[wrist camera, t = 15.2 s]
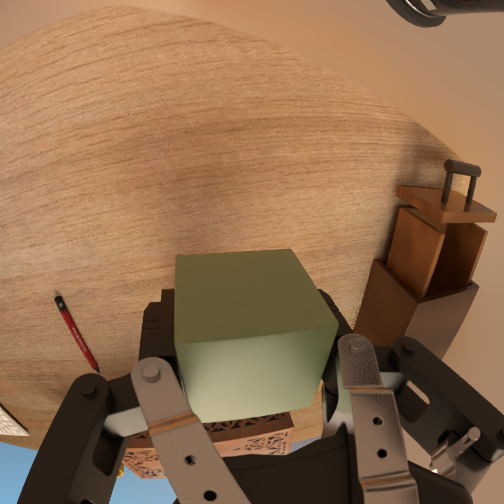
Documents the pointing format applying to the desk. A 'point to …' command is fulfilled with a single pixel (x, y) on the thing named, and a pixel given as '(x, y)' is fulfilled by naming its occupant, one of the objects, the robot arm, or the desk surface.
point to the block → (249, 333)
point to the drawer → (439, 235)
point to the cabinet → (410, 312)
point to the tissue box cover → (219, 442)
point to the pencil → (75, 332)
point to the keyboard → (10, 425)
